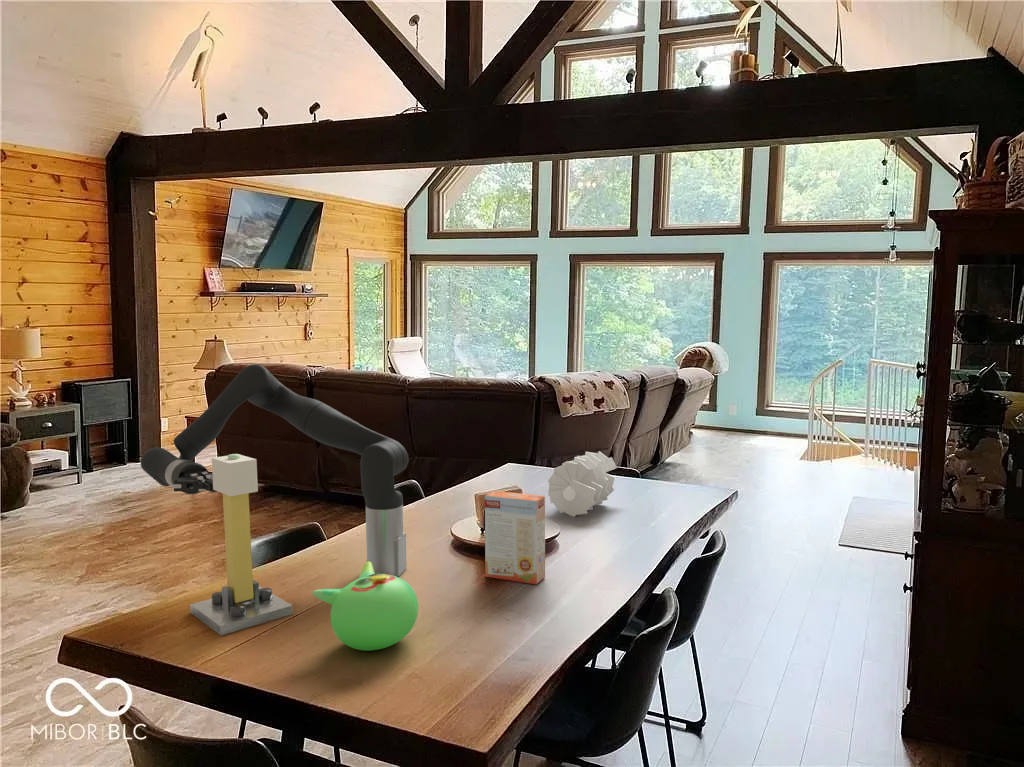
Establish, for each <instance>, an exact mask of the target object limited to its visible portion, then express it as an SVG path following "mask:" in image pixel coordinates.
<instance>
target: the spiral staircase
mask: <svg viewBox="0 0 1024 767" xmlns="http://www.w3.org/2000/svg"><path fill="white" fill-rule="evenodd" d="M617 468H618V467H617V465H616V463H615V461H614V459H613V457H612V456H610V457H608V456H606V454H604V453H603V452H601V451H600V450H598V451H597V452H590V451H585V454H583V455H576V456H574V459H572V460H569V461H565V462H563V463H562V465H560V466H557V467H554V468H553V473H552V474H551V476H550V477H549V478H548V479H547V483H548V492H547V493H548V495H547V496H548V497H549V500H550V504H553V505H554V506H555V508H556V509H557V510H558V511H559V513H560V514H563V513H564V514H567V515H569V516H571V517H574V518H575V517H576V516H578V515H579V516H580V515H587V514H588V511H592V510H594V508H593V507H594V506H597V505H602V504H604V501H608V500H609V499H608V496H610V495H611V494H612V493H613V492H614V491H615V490H616V489H615V487H613V486H614V484H615V480H616V476H614V475H612V474H609V473H608V472H610V471H612V470H615V469H617Z"/></svg>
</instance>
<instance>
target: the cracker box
mask: <svg viewBox="0 0 1024 767" xmlns="http://www.w3.org/2000/svg"><path fill="white" fill-rule="evenodd" d="M484 543H485V544H484V551H485V553H484V554H485V556H484V558H485V564H484V565H485V567H484V568H485V569H484V570H485V572H484V573H485V577H487V578H492V579H493V578H494V579H498V580H504V581H505V580H506V581H512V582H518V583H525V584H530V585H538V583H540V582H541V581H542V580H544V579H545V578H546V496H545V495H537V494H527V493H519V492H509V491H499V490H494V491H492V492H490V493H487V494H486V495H485V496H484Z"/></svg>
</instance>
